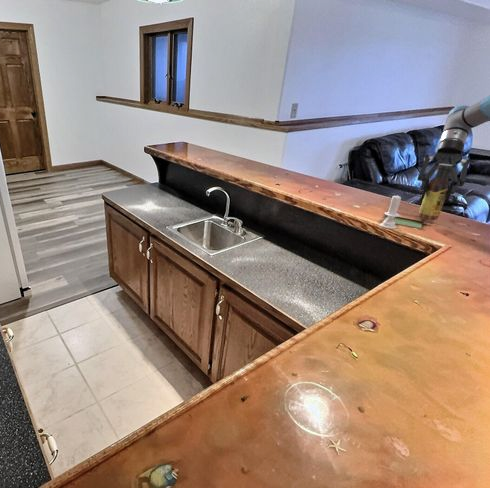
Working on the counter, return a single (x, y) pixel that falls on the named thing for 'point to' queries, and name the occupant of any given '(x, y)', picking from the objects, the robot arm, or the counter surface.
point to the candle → (392, 213)
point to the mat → (407, 222)
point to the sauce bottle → (436, 193)
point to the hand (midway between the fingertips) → (434, 198)
